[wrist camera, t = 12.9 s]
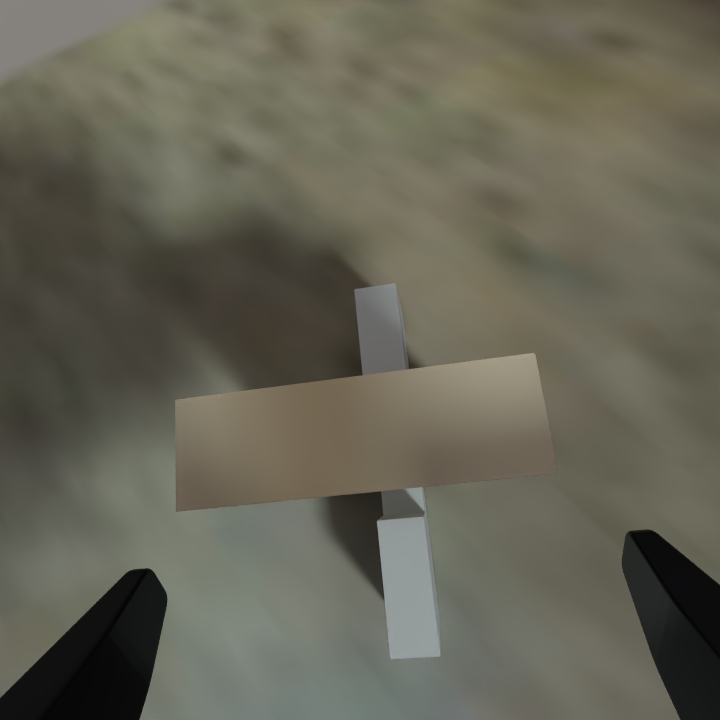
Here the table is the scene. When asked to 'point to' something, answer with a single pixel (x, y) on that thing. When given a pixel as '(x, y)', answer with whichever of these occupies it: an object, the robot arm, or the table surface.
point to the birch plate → (364, 434)
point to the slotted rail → (399, 497)
